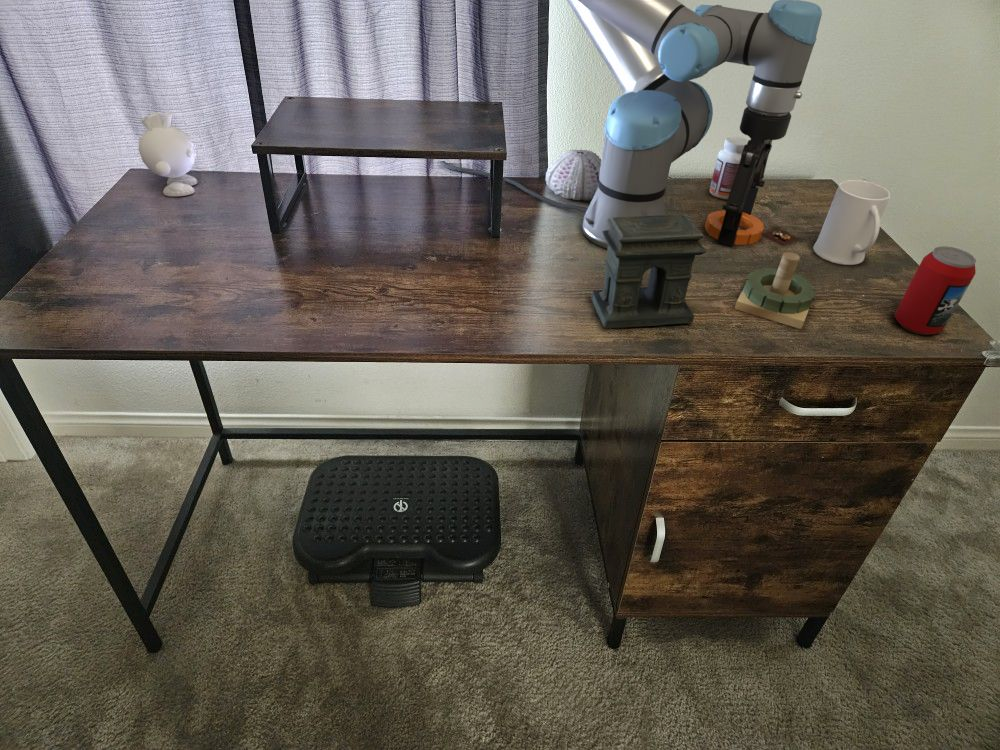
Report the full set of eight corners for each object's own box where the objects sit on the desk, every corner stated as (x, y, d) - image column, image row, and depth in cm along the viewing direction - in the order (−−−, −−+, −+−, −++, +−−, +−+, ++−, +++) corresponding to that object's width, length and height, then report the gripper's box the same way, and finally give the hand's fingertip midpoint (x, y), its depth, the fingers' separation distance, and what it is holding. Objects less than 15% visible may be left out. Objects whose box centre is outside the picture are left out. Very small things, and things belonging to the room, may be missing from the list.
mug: (879, 276, 110) (910, 210, 102) (829, 274, 110) (856, 208, 102) (852, 242, 119) (879, 180, 111) (806, 240, 119) (829, 177, 111)
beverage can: (939, 343, 95) (981, 272, 87) (889, 328, 98) (925, 258, 90) (942, 322, 100) (982, 252, 92) (895, 307, 102) (930, 239, 94)
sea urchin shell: (609, 180, 137) (614, 142, 132) (609, 207, 127) (616, 168, 121) (546, 175, 138) (549, 137, 133) (542, 202, 128) (545, 162, 122)
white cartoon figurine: (200, 206, 121) (178, 126, 112) (145, 209, 119) (118, 128, 110) (209, 174, 132) (190, 98, 123) (159, 176, 131) (135, 100, 121)
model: (671, 293, 103) (692, 205, 94) (693, 326, 96) (718, 234, 87) (588, 298, 101) (600, 209, 92) (604, 332, 94) (620, 239, 85)
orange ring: (698, 235, 119) (701, 225, 118) (713, 215, 126) (716, 205, 124) (753, 250, 115) (756, 240, 114) (766, 228, 122) (769, 218, 121)
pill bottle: (745, 194, 134) (760, 141, 127) (729, 203, 130) (744, 148, 123) (718, 185, 137) (732, 132, 130) (702, 193, 133) (715, 139, 126)
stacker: (734, 309, 100) (749, 260, 95) (749, 280, 107) (765, 234, 102) (801, 329, 97) (820, 280, 91) (812, 298, 103) (831, 251, 98)
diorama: (782, 243, 118) (785, 232, 116) (765, 234, 120) (769, 224, 119) (792, 239, 119) (796, 228, 118) (776, 230, 121) (780, 220, 120)
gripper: (776, 134, 97) (737, 263, 111) (805, 95, 113) (768, 212, 127) (727, 124, 100) (695, 251, 114) (761, 88, 116) (730, 203, 130)
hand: (733, 231), depth 120 cm, fingers open, 11 cm apart
